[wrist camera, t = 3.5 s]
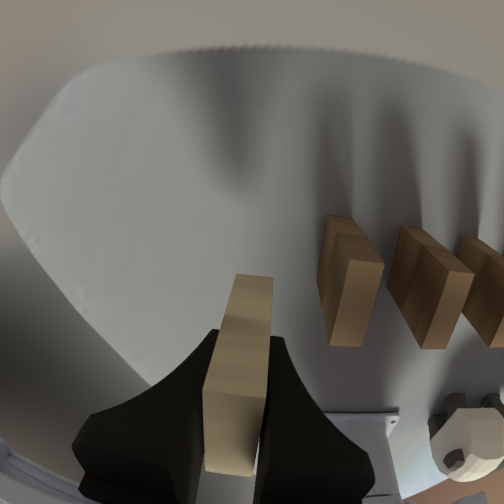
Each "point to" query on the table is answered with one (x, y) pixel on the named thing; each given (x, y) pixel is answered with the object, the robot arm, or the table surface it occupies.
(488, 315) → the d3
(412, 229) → the d4
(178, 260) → the table surface
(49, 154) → the table surface
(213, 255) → the table surface
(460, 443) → the giant panda
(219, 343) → the maple tile
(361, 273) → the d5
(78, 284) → the table surface
